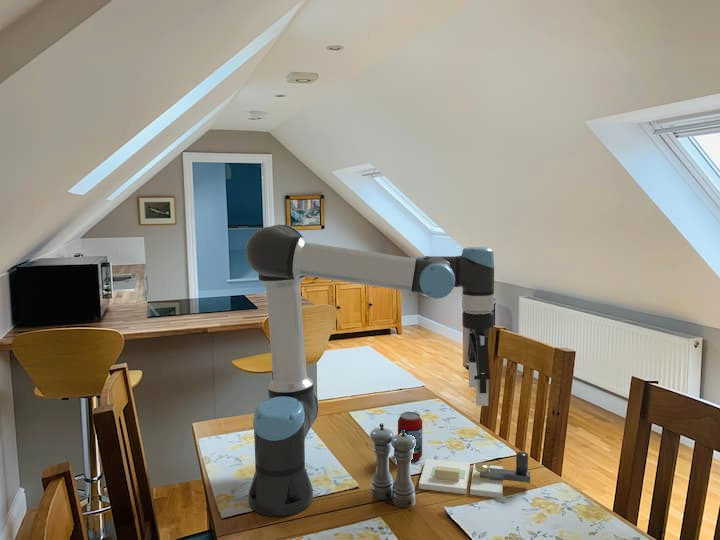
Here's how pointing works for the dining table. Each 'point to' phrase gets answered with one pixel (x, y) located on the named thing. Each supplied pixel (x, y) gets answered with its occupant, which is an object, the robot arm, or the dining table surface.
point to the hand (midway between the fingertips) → (478, 395)
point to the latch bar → (502, 474)
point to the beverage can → (412, 430)
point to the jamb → (486, 485)
